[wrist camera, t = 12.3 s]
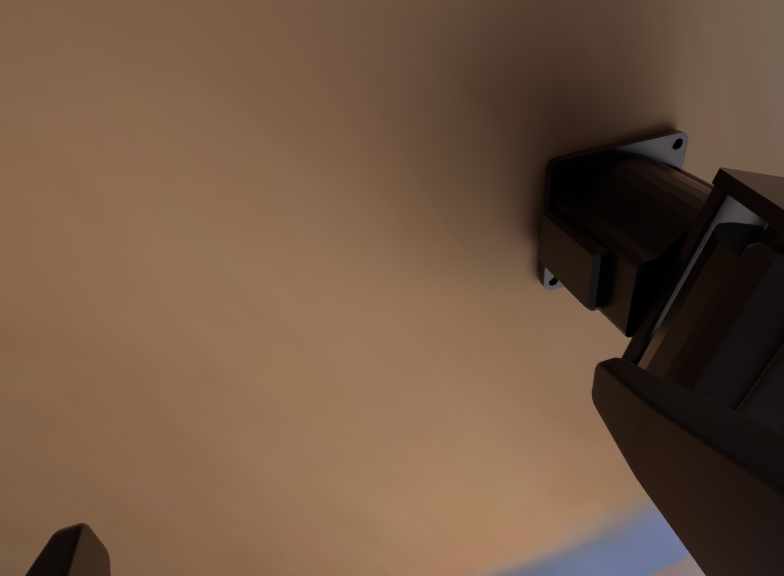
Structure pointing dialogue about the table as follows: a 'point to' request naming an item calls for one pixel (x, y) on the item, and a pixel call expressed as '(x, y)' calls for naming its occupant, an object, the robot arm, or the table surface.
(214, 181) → the table surface
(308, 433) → the table surface
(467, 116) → the table surface
